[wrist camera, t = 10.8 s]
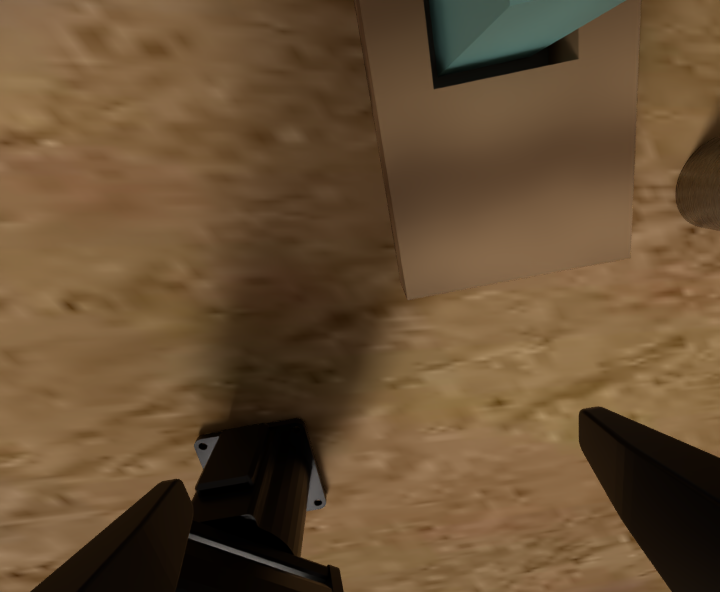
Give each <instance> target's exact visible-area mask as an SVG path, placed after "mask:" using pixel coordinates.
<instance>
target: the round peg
mask: <svg viewBox="0 0 720 592" xmlns="http://www.w3.org/2000/svg"><path fill="white" fill-rule="evenodd" d="M676 203H677V207H678V209H679V211H680V213H681V215H682V216H683V217H684V218H685V220H686V221H688V222H689V223H691V224H693V225H695V226H698V227H701V228H707V229H712V230H717V231H720V136H719V137H716V138H714V139H712V140H710V141H708V142H707V143H706V144H704V145H703V146H701V147H700V148H699V149H698V150H697V151H696V152H695V153H694V154H693V155H692V156H691V157H690V159H689V160H688V161H687V163H686V164H685V166H684V167H683V169H682V171H681V173H680V176H679V179H678V182H677V186H676Z"/></svg>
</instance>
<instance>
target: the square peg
mask: <svg viewBox="0 0 720 592" xmlns="http://www.w3.org/2000/svg"><path fill="white" fill-rule="evenodd" d="M624 1H626V0H429V7H430V15H431V24H432V32H433V41H434V49H435V58H436V67H437V75H438V77H439V76H444V75H449V74H453V73H458V72H462V71H467V70H471V69H476V68H480V67H485V66H490V65H494V64H499V63H503V62H508V61H512V60H517V59H521V58H526V57H531V56H532V55H534V54H536V53H537V52H539V51H541V50H542V49H544V48H546V47H548V46H549V45H551V44H553V43H554V42H556V41H558V40H560V39H561V38H563V37H565V36H566V35H568V34H570V33H571V32H573V31H575V30H577V29H578V28H580V27H582V26H583V25H585V24H587V23H588V22H590V21H592V20H594V19H595V18H597V17H599V16H600V15H602V14H604V13H605V12H607V11H609V10H611V9H612V8H614V7H616V6H617V5H619V4H621V3H623V2H624Z"/></svg>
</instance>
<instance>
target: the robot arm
mask: <svg viewBox="0 0 720 592" xmlns="http://www.w3.org/2000/svg"><path fill="white" fill-rule="evenodd" d="M295 426H298V427H299V428H300V429H295V428H294V427H295ZM202 443H205V444H206V445H203V444H202ZM579 443H580V447H581V449H582V451H583V453H584V455H585V457H586V459H587V460H588V462H589V464H590V466H591V467H592V469H593V471H594V473H595V474H596V476H597V478H598V480H599V481H600V483H601V485H602V487H603V489H604V490H605V492H606V494H607V496H608V497H609V499H610V501H611V503H612V504H613V506H614V508H615V510H616V511H617V513H618V515H619V516H620V518H621V520H622V521H623V523H624V524H625V526H626V527H627V528H628V530H629V531H630V533H631V534H632V536H633V537H634V539H635V540H636V541H637V543H638V544H639V546H640V547H641V549H642V550H643V551H644V553H645V554H646V556H647V557H648V559H649V560H650V561H651V563H652V564H653V566H654V567H655V569H656V570H657V571H658V573H659V574H660V576H661V577H662V578H663V580H664V581H665V583H666V584H667V586H668V587H669V588H670V590H671V591H672V592H720V458H719V457H717V456H714V455H712V454H710V453H707V452H705V451H703V450H700V449H698V448H696V447H693V446H691V445H689V444H687V443H684V442H682V441H680V440H677V439H675V438H673V437H670V436H668V435H666V434H663V433H661V432H659V431H656V430H654V429H652V428H649V427H647V426H645V425H642V424H640V423H638V422H635V421H633V420H631V419H628V418H626V417H624V416H622V415H619V414H617V413H615V412H612V411H610V410H608V409H605V408H603V407H591V408H585V409H582V410H581V411H580V412H579ZM194 448H195V450H196V453H197V455H198V458H199V460H200V462H201V465H202V467H203V471H202V473H201V476H200V478H199V480H198V482H197V484H196V486H195V490H196V493H195V495H194V497H193V499H192V501H191V500H190V498H189V495H188V493H187V491H186V488H185V486H184V484H183V482H182V481H181V480H180V479H172V480H167V481H162V482H160V483H159V484H157V485H156V486H155V487H154V488H153V489H151V490H150V491H149V492H148V493H147V494H146V495H144V496H143V497H142V498H141V499H140V500H138V501H137V502H136V503H135V504H134V505H133V506H131V507H130V508H129V509H128V510H127V511H125V512H124V513H123V514H122V515H121V516H119V517H118V518H117V519H116V520H115V521H114V522H112V523H111V524H110V525H109V526H108V527H106V528H105V529H104V530H103V531H102V532H100V533H99V534H98V535H97V536H96V537H95V538H93V539H92V540H91V541H90V542H89V543H87V544H86V545H85V546H84V547H83V548H82V549H80V550H79V551H78V552H77V553H76V554H74V555H73V556H72V557H71V558H70V559H68V560H67V561H66V562H65V563H64V564H63V565H61V566H60V567H59V568H58V569H57V570H55V571H54V572H53V573H52V574H51V575H49V576H48V577H47V578H46V579H45V580H44V581H42V582H41V583H40V584H39V585H38V586H36V587H35V588H34V589H33V590H32V591H31V592H343V586H342V581H341V575H340V570H339V568H337V567H334V566H331V565H327V566H324V565H321V564H318V563H316V562H313V561H310V560H307V559H304V558H301V557H300V556H301V549H302V541H303V533H304V525H305V517H306V511H310V510H316V509H321V508H323V507H324V506H325V505H326V493H325V490H324V486H323V483H322V479H321V476H320V472H319V469H318V465H317V462H316V459H315V455H314V452H313V448H312V445H311V441H310V438H309V434H308V431H307V427H306V424H305V422H304V421H303V420H302V419H299V418H295V419H289V420H284V421H278V422H272V423H267V424H264V423H262V424H256V425H251V426H245V427H239V428H234V429H228V430H224V431H222V432H216V433H210V434H205V435H201V436H199V437H198V438H197V440H196V442H195V444H194ZM317 500H320V501H317Z"/></svg>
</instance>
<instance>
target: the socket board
mask: <svg viewBox="0 0 720 592" xmlns="http://www.w3.org/2000/svg"><path fill="white" fill-rule="evenodd" d="M354 2H355V9H356V15H357V21H358V27H359V33H360V39H361V45H362V51H363V57H364V63H365V69H366V75H367V81H368V87H369V93H370V99H371V105H372V111H373V118H374V124H375V130H376V136H377V142H378V148H379V154H380V160H381V166H382V172H383V178H384V184H385V190H386V196H387V202H388V208H389V214H390V221H391V227H392V233H393V239H394V245H395V251H396V257H397V263H398V269H399V275H400V281H401V285H402V288H403V290H404V292H405V295H406V297H407V300H411V299H416V298H422V297H427V296H432V295H438V294H443V293H448V292H454V291H459V290H464V289H470V288H475V287H480V286H486V285H491V284H496V283H502V282H507V281H512V280H517V279H523V278H528V277H533V276H539V275H544V274H549V273H555V272H560V271H565V270H571V269H576V268H581V267H587V266H592V265H597V264H603V263H608V262H613V261H619V260H624V259H629V258H631V236H632V212H633V187H634V163H635V139H636V114H637V90H638V65H639V41H640V16H641V0H626V1H624V2H623V3H621V4H619V5H617V6H616V7H614V8H612V9H611V10H609V11H607V12H605V13H604V14H602V15H600V16H599V17H597V18H595V19H594V20H592V21H590V22H588V23H587V24H585V25H583V26H582V27H580V28H578V29H577V30H575V31H573V32H571V33H570V34H568V35H566V36H565V37H563V38H561V39H560V40H558V41H556V42H554V43H553V44H551V45H549V46H548V47H546V48H544V49H542V50H541V51H539V52H537V53H536V54H534V55H532V56H531V57H526V58H521V59H517V60H512V61H508V62H503V63H499V64H494V65H490V66H485V67H480V68H476V69H471V70H467V71H462V72H458V73H453V74H449V75H444V76H439V77H438V75H437V67H436V58H435V49H434V41H433V32H432V24H431V15H430V7H429V0H354Z"/></svg>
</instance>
